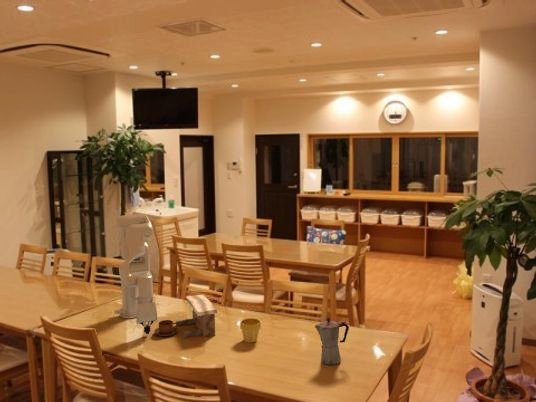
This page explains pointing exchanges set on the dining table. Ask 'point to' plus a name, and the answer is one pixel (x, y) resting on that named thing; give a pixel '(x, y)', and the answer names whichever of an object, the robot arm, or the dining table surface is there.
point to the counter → (200, 317)
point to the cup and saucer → (166, 328)
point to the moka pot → (330, 340)
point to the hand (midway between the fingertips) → (147, 333)
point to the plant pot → (250, 329)
